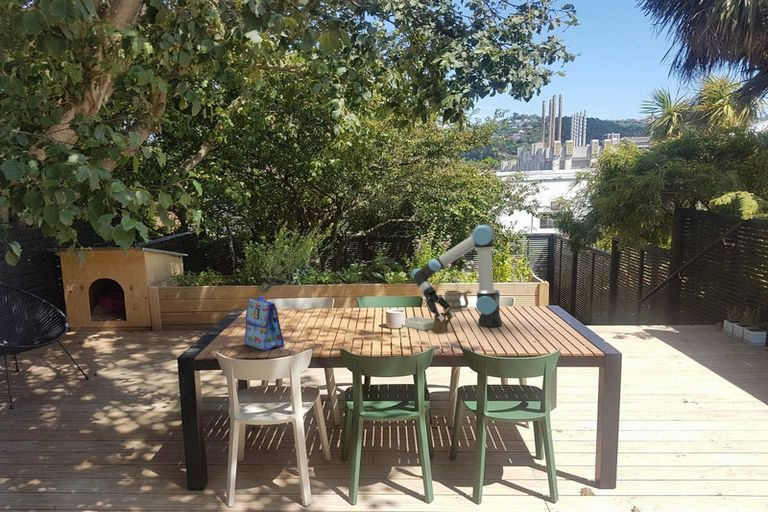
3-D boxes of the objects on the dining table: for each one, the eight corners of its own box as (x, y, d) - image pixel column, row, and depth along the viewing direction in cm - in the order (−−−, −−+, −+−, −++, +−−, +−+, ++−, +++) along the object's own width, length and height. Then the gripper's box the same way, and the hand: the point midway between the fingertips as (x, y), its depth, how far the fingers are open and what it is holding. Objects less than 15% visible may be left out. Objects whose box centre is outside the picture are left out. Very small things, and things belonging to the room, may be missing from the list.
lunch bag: (244, 344, 309) (241, 295, 306) (264, 340, 318) (262, 292, 316) (264, 351, 294) (262, 299, 291) (285, 346, 303) (283, 296, 300)
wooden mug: (455, 333, 325) (454, 303, 323) (432, 333, 326) (432, 303, 324) (454, 329, 334) (454, 301, 332) (432, 329, 335) (432, 301, 333)
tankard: (442, 311, 387) (442, 291, 386) (445, 308, 400) (445, 288, 398) (470, 313, 382) (470, 292, 380) (472, 309, 394) (472, 289, 392)
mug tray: (439, 326, 342) (439, 320, 342) (424, 330, 332) (424, 324, 332) (417, 322, 357) (417, 316, 356) (401, 325, 347) (401, 319, 346)
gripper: (435, 291, 346) (455, 319, 336) (412, 296, 332) (432, 325, 322) (442, 284, 342) (462, 312, 332) (419, 288, 327) (439, 318, 317)
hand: (447, 318), depth 327 cm, fingers closed on wooden mug, 9 cm apart
